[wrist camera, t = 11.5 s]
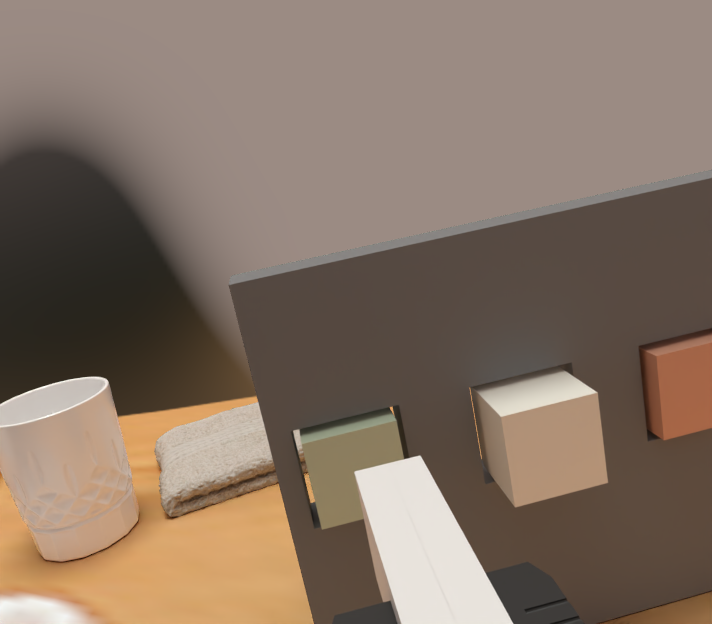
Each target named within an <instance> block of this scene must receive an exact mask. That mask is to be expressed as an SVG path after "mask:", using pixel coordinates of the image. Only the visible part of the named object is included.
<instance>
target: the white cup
mask: <svg viewBox="0 0 712 624" xmlns="http://www.w3.org/2000/svg"><path fill="white" fill-rule="evenodd" d="M0 471H1V473H2V475H3V478H4V480H5V483H6V485H7V486H8V488H9V490H10V493H11V495H12V497H13V500H14V502H15V504H16V506H17V508H18V510H19V513H20V515H21V517H22V519H23V521H24V522H25V523H26V524H27V526H28V529H29V531H30V533H31V536H32V538H33V541H34V543H35V545H36V548H37V550H38V552H39V553H40V554H41V555H42V557H43V558H44V559H45V560H51V561H60V562H62V561H68V560H73V559H78V558H83V557H86V556H88V555H91V554H93V553H96V552H98V551H100V550H102V549H105V548H107V547H109V546H110V545H112V544H113V543H115V542H116V541H118V540H119V539H121V538H122V537H124V536H125V535H126V534H127V533H128V532H129V531H130V530H131V529H132V528H133V527H134V525H135V524H136V523H137V522H138V517H139V506H138V502H137V499H136V495H135V491H134V488H133V484H132V474H131V470H130V465H129V462H128V458H127V453H126V449H125V444H124V440H123V436H122V432H121V428H120V425H119V421H118V417H117V413H116V409H115V406H114V402H113V398H112V394H111V390H110V386H109V383H108V380H107V379H105V378H101V377H84V378H77V379H71V380H66V381H62V382H58V383H54V384H50V385H47V386H44V387H41V388H37V389H34V390H32V391H29V392H26V393H24V394H21V395H19V396H16V397H14V398H12V399H10V400H8V401H6V402H4V403H2V404H0Z"/></svg>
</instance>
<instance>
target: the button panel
mask: <svg viewBox="0 0 712 624" xmlns="http://www.w3.org/2000/svg"><path fill="white" fill-rule="evenodd" d="M229 288H230V292H231V296H232V300H233V303H234V308H235V312H236V315H237V319H238V323H239V328H240V332H241V335H242V339H243V343H244V347H245V351H246V355H247V359H248V363H249V367H250V371H251V375H252V379H253V383H254V387H255V391H256V395H257V399H258V403H259V407H260V411H261V415H262V419H263V423H264V427H265V431H266V435H267V439H268V443H269V447H270V451H271V455H272V458H273V462H274V466H275V470H276V474H277V478H278V482H279V486H280V490H281V494H282V498H283V502H284V506H285V510H286V514H287V518H288V522H289V526H290V530H291V534H292V538H293V542H294V546H295V550H296V554H297V558H298V562H299V566H300V569H301V573H302V577H303V581H304V585H305V589H306V593H307V597H308V601H309V605H310V609H311V613H312V617H313V621H314V624H332V622H333V619H334V616H335V615H338V614H342V613H345V612H349V611H353V610H357V609H360V608H364V607H368V606H372V605H375V604H379V603H383V600H382V596H381V593H380V589H379V586H378V582H377V579H376V574H375V570H374V565H373V560H372V555H371V550H370V546H369V541H368V536H367V531H366V526H365V522H364V519H361V520H357V521H354V522H350V523H346V524H342V525H338V526H334V527H331V528H327V529H323V530H322V528H321V524H320V520H319V515H318V511H317V507H316V503H315V502H314V503H310V499H309V495H308V491H307V487H306V483H305V478H304V474H303V470H302V466H301V462H300V458H299V454H298V449H297V445H296V441H295V437H294V433H293V431H294V430H298V429H302V428H306V427H310V426H314V425H318V424H322V423H326V422H330V421H335V420H339V419H343V418H347V417H351V416H355V415H359V414H363V413H367V412H371V411H375V410H379V409H383V408H387V407H392V406H393V411H394V416H395V419H396V421H397V426H398V431H399V436H400V441H401V446H402V451H403V456H404V459H408V458H412V457H416V456H421V457H422V459H423V461H424V463H425V465H426V466H427V468H428V470H429V472H430V474H431V475H432V477H433V479H434V481H435V483H436V485H437V486H438V488H439V490H440V492H441V494H442V495H443V497H444V499H445V501H446V503H447V504H448V506H449V508H450V510H451V512H452V514H453V515H454V517H455V519H456V521H457V523H458V524H459V526H460V528H461V530H462V532H463V533H464V535H465V537H466V539H467V541H468V543H469V544H470V546H471V548H472V550H473V552H474V553H475V555H476V557H477V559H478V561H479V562H480V564H481V566H482V568H483V570H484V572H485V573H487V572H491V571H495V570H499V569H502V568H506V567H510V566H514V565H517V564H521V563H525V562H529V563H531V564H532V565H534V566H535V567H537V568H539V569H540V570H542V571H543V572H545V573H546V574H548V575H550V576H551V577H552V578H553V579H554V581H555V582H556V584H557V585H558V587H559V588H560V589H561V591H562V592H563V594H564V595H565V596H566V598H567V601H568V602H570V604H571V605H572V606H573V608H574V609H575V611H576V612H577V613H578V615H579V618H580V620H582V621H583V622H584V623H585V624H597V623H601V622H604V621H608V620H611V619H615V618H618V617H622V616H625V615H629V614H632V613H635V612H639V611H642V610H646V609H649V608H653V607H656V606H660V605H663V604H667V603H670V602H674V601H677V600H681V599H684V598H688V597H691V596H695V595H698V594H702V593H705V592H709V591H712V428H710V429H706V430H702V431H698V432H694V433H690V434H687V435H683V436H679V437H675V438H671V439H667V440H663V439H661V438H660V437H658V436H657V435H655V434H654V433H652V432H651V431H649V430H648V429H646V418H645V408H644V398H643V387H642V377H641V367H640V356H639V346H640V345H644V344H648V343H652V342H656V341H660V340H665V339H669V338H673V337H677V336H681V335H685V334H689V333H693V332H697V331H701V330H705V329H709V328H712V170H709V171H704V172H700V173H696V174H691V175H686V176H682V177H677V178H673V179H668V180H664V181H659V182H654V183H650V184H645V185H641V186H637V187H632V188H627V189H623V190H618V191H614V192H609V193H605V194H600V195H595V196H592V197H587V198H582V199H577V200H573V201H569V202H564V203H560V204H555V205H550V206H546V207H541V208H536V209H532V210H527V211H523V212H519V213H514V214H510V215H505V216H500V217H496V218H492V219H487V220H482V221H477V222H473V223H468V224H464V225H460V226H455V227H450V228H446V229H441V230H437V231H432V232H428V233H423V234H419V235H414V236H409V237H405V238H401V239H396V240H391V241H387V242H382V243H378V244H373V245H369V246H364V247H360V248H355V249H350V250H346V251H342V252H337V253H332V254H328V255H323V256H319V257H314V258H310V259H305V260H301V261H296V262H292V263H287V264H282V265H278V266H273V267H269V268H264V269H260V270H256V271H251V272H247V273H242V274H237V275H233V276H231V278H230V282H229ZM555 366H558V367H560V368H561V369H563V370H565V371H566V372H568V373H569V374H571V375H572V376H574V377H575V378H577V379H578V380H580V381H581V382H583V383H584V384H586V385H587V386H589V387H590V388H592V389H593V390H595V391H596V392H598V400H599V409H600V418H601V426H602V435H603V444H604V452H605V461H606V470H607V478H608V483H606V484H602V485H598V486H594V487H591V488H587V489H583V490H579V491H575V492H572V493H568V494H564V495H560V496H557V497H553V498H549V499H545V500H542V501H538V502H534V503H530V504H526V505H523V506H519V507H514V505H513V504H512V503H511V501H510V500H509V499H508V497H507V496H506V495H505V493H504V492H503V491H502V489H501V488H500V487H499V485H498V484H497V483H496V481H495V480H494V479H493V477H492V476H491V475H490V473H489V472H488V471H487V469H486V468H485V467H484V465H483V461H482V459H481V455H480V449H479V443H478V437H477V431H476V425H475V419H474V413H473V407H472V401H471V395H470V389H469V387H473V386H477V385H481V384H485V383H489V382H493V381H497V380H502V379H506V378H510V377H514V376H518V375H522V374H526V373H530V372H534V371H538V370H542V369H546V368H550V367H555Z"/></svg>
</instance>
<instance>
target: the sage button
mask: <svg viewBox="0 0 712 624" xmlns="http://www.w3.org/2000/svg"><path fill="white" fill-rule="evenodd" d="M299 431H300V438H301V444H302V448H303V453H304V457H305V461H306V465H307V469H308V474H309V478H310V482H311V486H312V490H313V494H314V499H315V503H316V507H317V511H318V515H319V520H320V524H321V528H322V530H323V529H327V528H331V527H334V526H338V525H342V524H346V523H350V522H354V521H357V520H361V519H364V517H363V512H362V507H361V503H360V498H359V493H358V488H357V483H356V479H355V474H354V472H355V471H359V470H363V469H367V468H371V467H375V466H379V465H383V464H387V463H391V462H395V461H399V460H404V456H403V451H402V446H401V441H400V436H399V431H398V426H397V421H396V419H395V417H394V415H393V413H392V411H391V410H390V408H389V407H387V408H383V409H379V410H375V411H371V412H367V413H363V414H359V415H355V416H351V417H347V418H343V419H339V420H335V421H330V422H326V423H322V424H318V425H314V426H310V427H306V428H302V429H299Z"/></svg>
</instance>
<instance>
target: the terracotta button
mask: <svg viewBox="0 0 712 624" xmlns="http://www.w3.org/2000/svg"><path fill="white" fill-rule="evenodd" d="M639 356H640V367H641V377H642V387H643V398H644V408H645V418H646V429H648V430H649V431H651V432H652V433H654V434H655V435H657V436H658V437H660V438H661V439H663V440H667V439H671V438H675V437H679V436H683V435H687V434H690V433H694V432H698V431H702V430H706V429H710V428H712V328H709V329H705V330H701V331H697V332H693V333H689V334H685V335H681V336H677V337H673V338H669V339H665V340H660V341H656V342H652V343H648V344H644V345H640V346H639Z"/></svg>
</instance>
